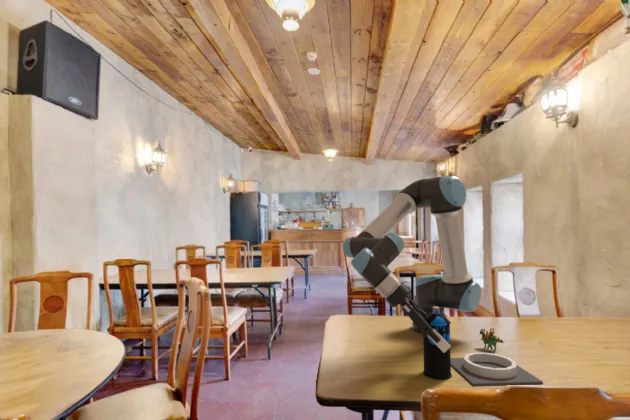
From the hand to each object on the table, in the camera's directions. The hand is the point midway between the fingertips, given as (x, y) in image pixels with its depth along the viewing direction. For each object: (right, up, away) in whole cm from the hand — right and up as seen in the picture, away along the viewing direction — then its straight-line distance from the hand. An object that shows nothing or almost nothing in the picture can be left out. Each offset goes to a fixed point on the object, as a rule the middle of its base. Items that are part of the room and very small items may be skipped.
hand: (444, 342), depth 112 cm
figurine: (+24, -11, +20) cm, 33 cm away
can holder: (+15, -10, +2) cm, 18 cm away
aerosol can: (-2, -10, 0) cm, 10 cm away
